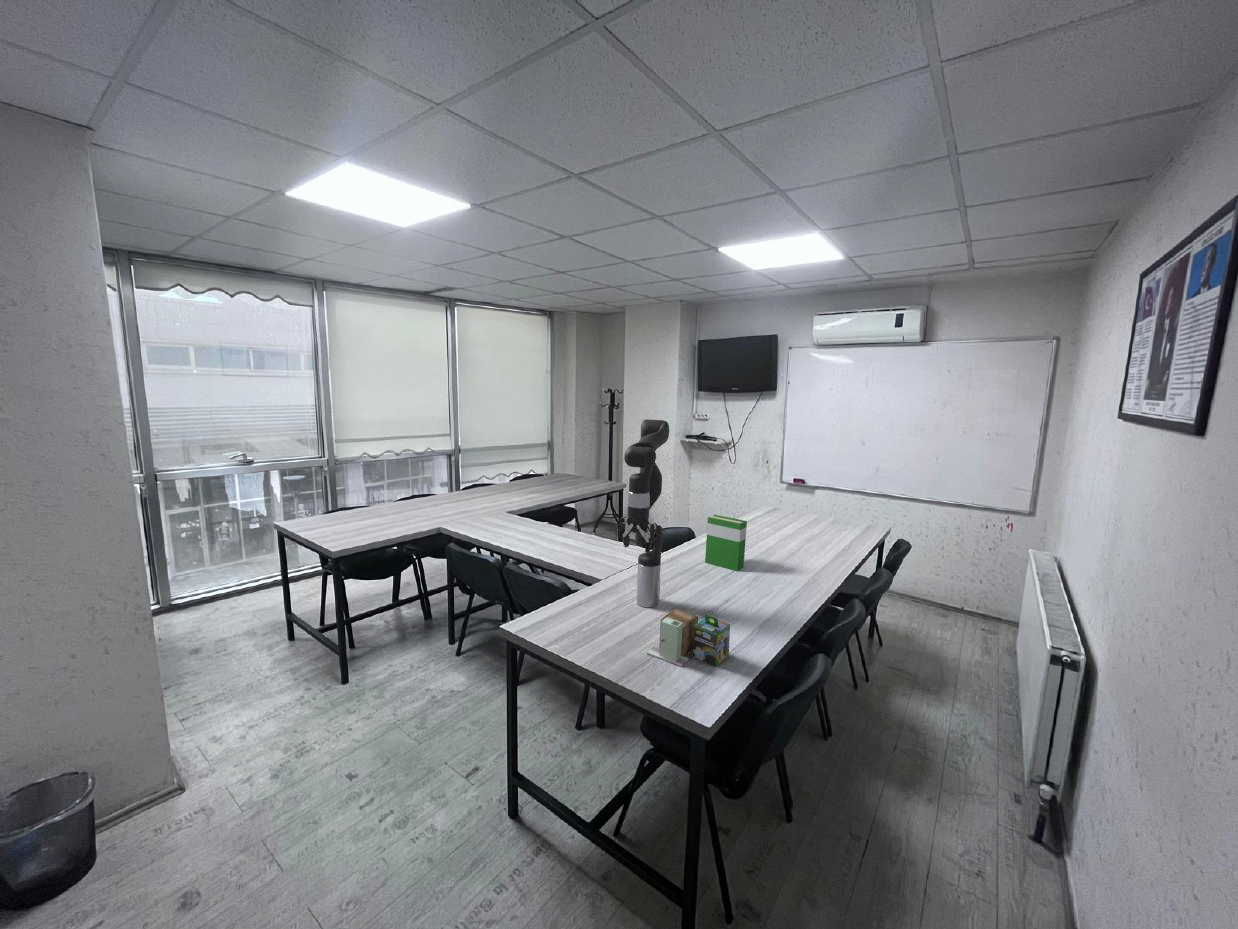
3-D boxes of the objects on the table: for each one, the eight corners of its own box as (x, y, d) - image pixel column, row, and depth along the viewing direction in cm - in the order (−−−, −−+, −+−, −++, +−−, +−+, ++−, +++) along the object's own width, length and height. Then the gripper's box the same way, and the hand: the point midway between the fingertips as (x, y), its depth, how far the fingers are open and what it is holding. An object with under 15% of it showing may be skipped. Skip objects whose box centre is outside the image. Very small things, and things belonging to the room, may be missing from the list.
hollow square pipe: (664, 650, 166) (666, 617, 164) (680, 656, 163) (682, 622, 161) (658, 656, 163) (660, 622, 161) (674, 662, 159) (676, 627, 157)
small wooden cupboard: (668, 636, 177) (669, 607, 176) (701, 647, 170) (703, 617, 168) (646, 654, 165) (648, 623, 163) (681, 667, 158) (683, 635, 156)
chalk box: (729, 656, 165) (732, 614, 163) (715, 667, 158) (718, 624, 156) (705, 646, 171) (707, 606, 169) (691, 657, 164) (693, 615, 162)
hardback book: (705, 562, 253) (707, 517, 249) (711, 559, 258) (714, 514, 255) (737, 571, 242) (740, 524, 238) (743, 567, 248) (747, 521, 244)
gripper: (662, 505, 169) (660, 550, 172) (627, 499, 177) (625, 542, 180) (651, 510, 163) (649, 556, 166) (615, 503, 171) (614, 547, 174)
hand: (637, 549), depth 173 cm, fingers open, 8 cm apart
